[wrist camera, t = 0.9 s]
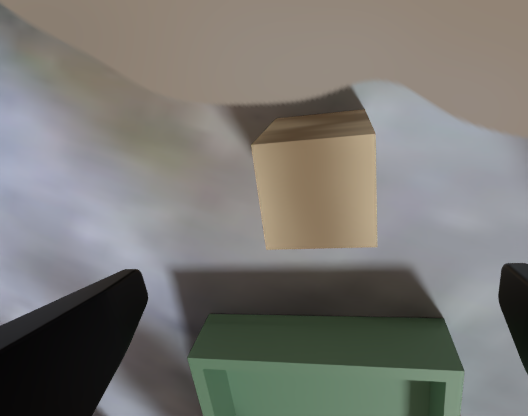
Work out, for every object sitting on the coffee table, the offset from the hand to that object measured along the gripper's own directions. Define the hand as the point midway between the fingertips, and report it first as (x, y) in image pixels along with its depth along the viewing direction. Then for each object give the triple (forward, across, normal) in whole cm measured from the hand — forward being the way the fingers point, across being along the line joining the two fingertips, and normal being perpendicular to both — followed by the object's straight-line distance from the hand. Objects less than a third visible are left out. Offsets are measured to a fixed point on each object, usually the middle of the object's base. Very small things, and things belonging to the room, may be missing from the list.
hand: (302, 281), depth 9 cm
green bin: (+11, +1, +18) cm, 21 cm away
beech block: (+12, 0, 0) cm, 12 cm away
